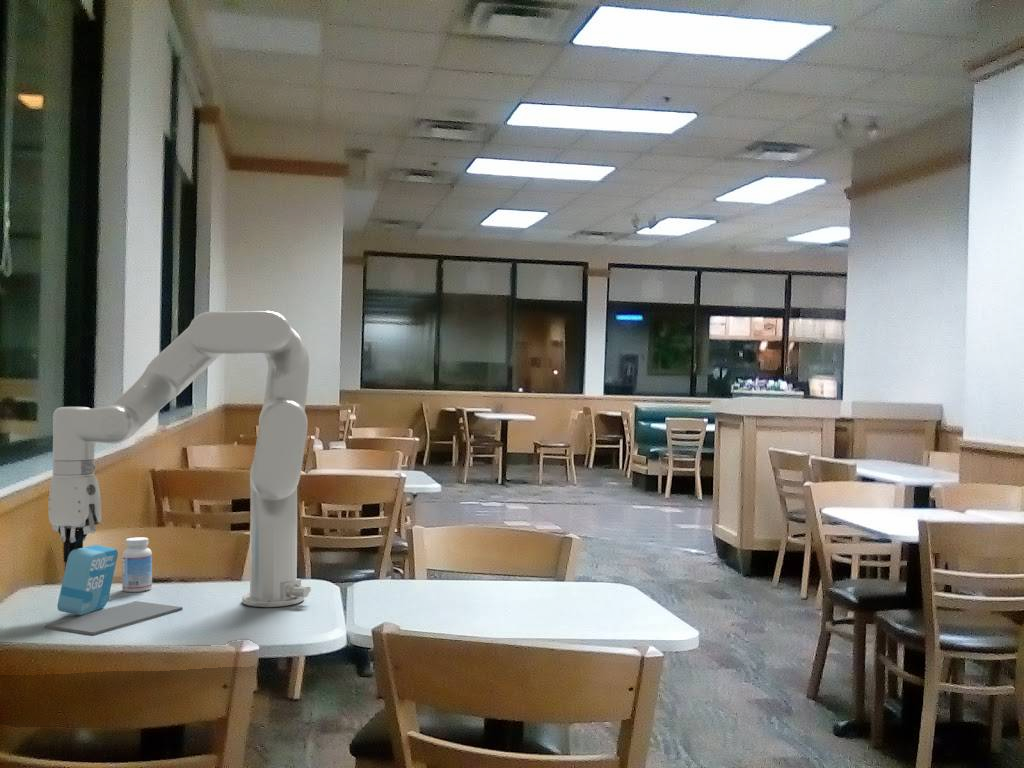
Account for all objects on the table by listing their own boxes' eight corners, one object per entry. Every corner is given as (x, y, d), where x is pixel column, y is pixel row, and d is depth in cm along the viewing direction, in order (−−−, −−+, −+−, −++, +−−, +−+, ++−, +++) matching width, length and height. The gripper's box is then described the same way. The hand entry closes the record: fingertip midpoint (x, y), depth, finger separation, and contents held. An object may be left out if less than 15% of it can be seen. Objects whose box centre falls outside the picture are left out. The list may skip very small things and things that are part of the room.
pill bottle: (157, 588, 214) (158, 537, 214) (138, 593, 209) (138, 541, 209) (136, 586, 217) (136, 535, 217) (116, 591, 211) (116, 539, 211)
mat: (182, 609, 194) (182, 607, 194) (93, 635, 174) (93, 632, 174) (136, 603, 199) (136, 601, 199) (44, 627, 179) (44, 624, 179)
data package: (77, 617, 185) (91, 554, 185) (55, 612, 185) (68, 550, 186) (107, 606, 197) (119, 548, 197) (85, 602, 197) (98, 543, 197)
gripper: (116, 469, 192) (115, 561, 192) (62, 466, 198) (62, 555, 198) (85, 472, 185) (84, 568, 185) (30, 468, 192) (30, 561, 192)
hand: (73, 561), depth 192 cm, fingers closed
